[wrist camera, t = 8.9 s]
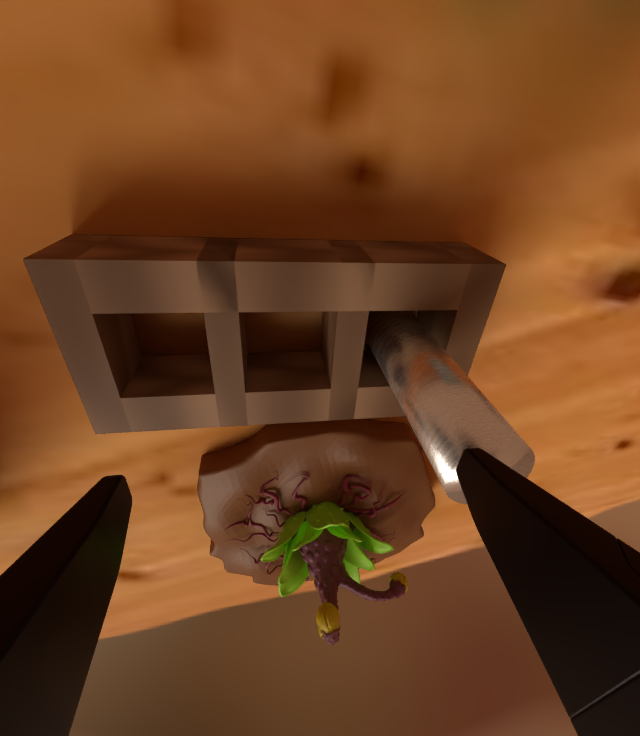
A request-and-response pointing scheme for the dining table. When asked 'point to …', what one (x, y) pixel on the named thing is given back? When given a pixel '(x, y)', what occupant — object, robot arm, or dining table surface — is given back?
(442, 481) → the peg
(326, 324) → the hole block
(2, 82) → the dining table surface
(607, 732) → the robot arm
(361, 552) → the plant
